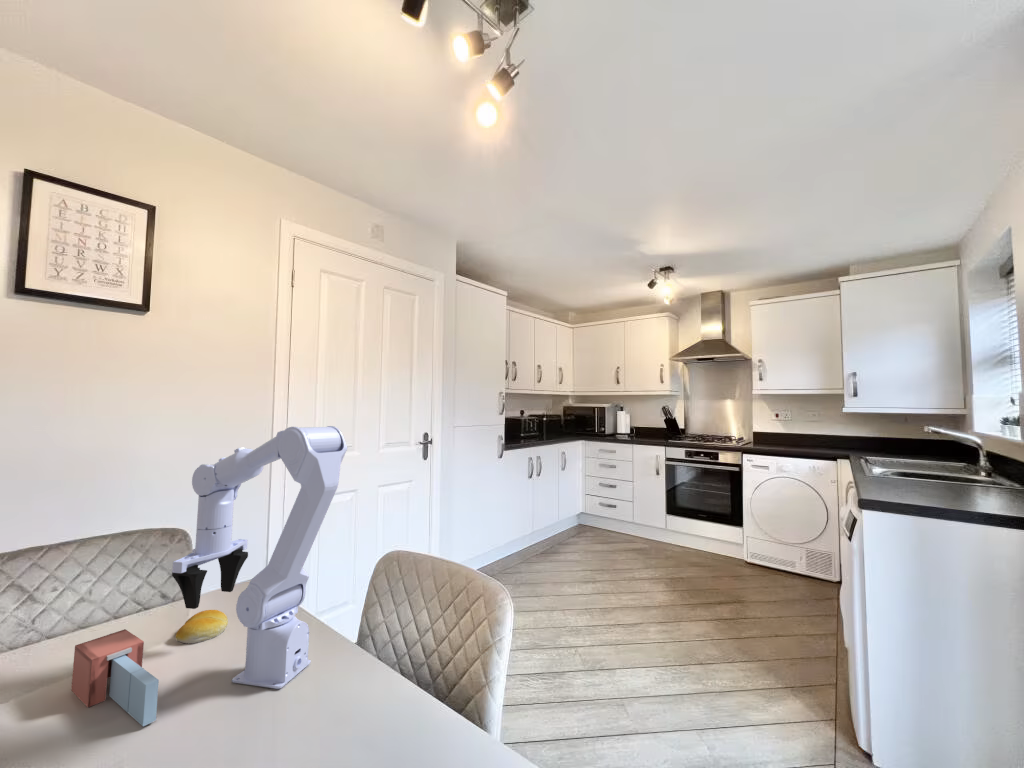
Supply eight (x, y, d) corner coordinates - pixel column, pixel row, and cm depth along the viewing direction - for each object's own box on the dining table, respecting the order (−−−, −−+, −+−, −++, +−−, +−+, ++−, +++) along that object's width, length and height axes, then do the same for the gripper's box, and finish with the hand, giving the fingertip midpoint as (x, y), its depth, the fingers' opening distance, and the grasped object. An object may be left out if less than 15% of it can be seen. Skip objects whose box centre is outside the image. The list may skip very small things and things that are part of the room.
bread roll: (168, 648, 83) (170, 627, 83) (189, 626, 91) (190, 607, 91) (217, 642, 85) (218, 621, 85) (233, 622, 93) (234, 603, 94)
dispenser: (141, 686, 70) (145, 642, 71) (89, 708, 65) (93, 660, 66) (122, 670, 75) (125, 629, 75) (71, 690, 69) (74, 645, 70)
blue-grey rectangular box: (156, 720, 62) (159, 679, 63) (142, 726, 61) (145, 685, 61) (121, 690, 69) (124, 654, 69) (108, 696, 67) (111, 658, 68)
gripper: (228, 516, 90) (224, 583, 89) (160, 535, 76) (154, 614, 75) (257, 518, 89) (253, 585, 88) (193, 537, 75) (188, 617, 74)
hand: (210, 599), depth 81 cm, fingers open, 7 cm apart
